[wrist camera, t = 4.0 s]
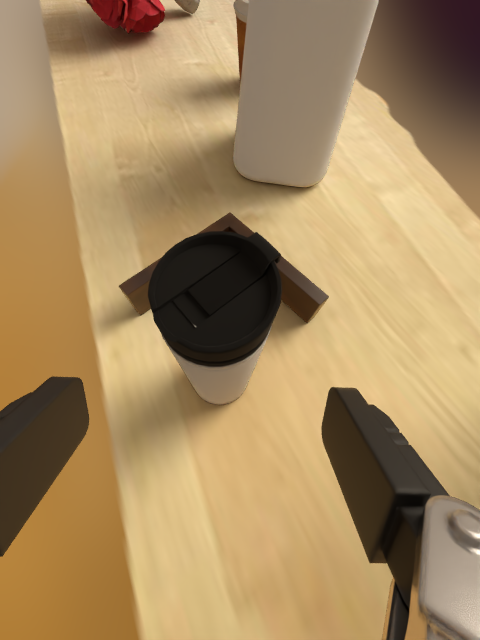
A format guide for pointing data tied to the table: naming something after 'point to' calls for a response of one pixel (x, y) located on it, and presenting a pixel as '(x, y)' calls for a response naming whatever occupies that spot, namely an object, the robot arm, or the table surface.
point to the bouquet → (136, 13)
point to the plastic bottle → (297, 85)
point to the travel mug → (217, 308)
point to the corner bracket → (294, 283)
